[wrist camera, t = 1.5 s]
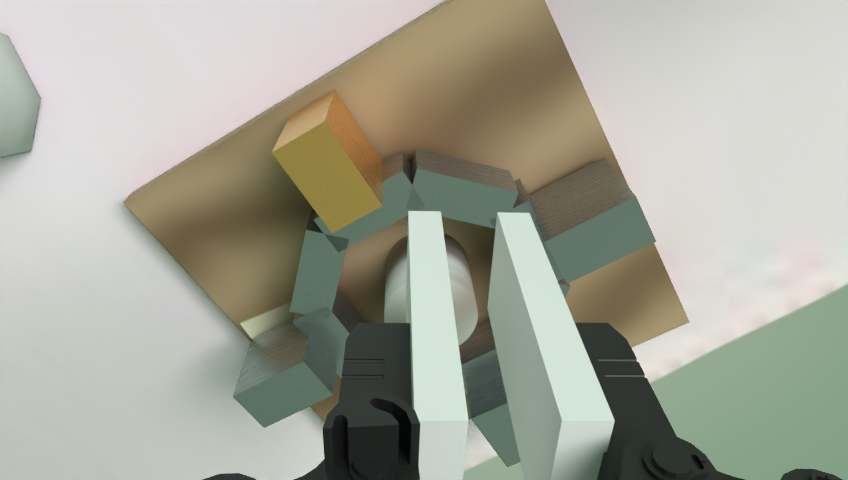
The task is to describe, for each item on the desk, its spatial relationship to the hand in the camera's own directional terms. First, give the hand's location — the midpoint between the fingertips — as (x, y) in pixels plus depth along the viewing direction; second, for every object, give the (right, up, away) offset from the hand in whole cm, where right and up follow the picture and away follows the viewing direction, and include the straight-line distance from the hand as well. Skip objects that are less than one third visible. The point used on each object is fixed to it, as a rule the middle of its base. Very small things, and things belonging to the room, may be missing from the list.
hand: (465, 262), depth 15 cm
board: (-1, 0, +19) cm, 19 cm away
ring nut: (-1, -1, +17) cm, 18 cm away
